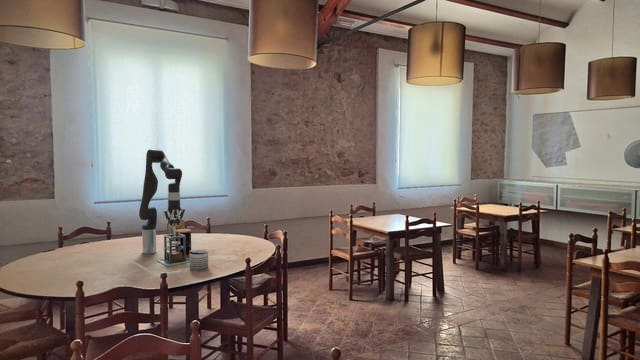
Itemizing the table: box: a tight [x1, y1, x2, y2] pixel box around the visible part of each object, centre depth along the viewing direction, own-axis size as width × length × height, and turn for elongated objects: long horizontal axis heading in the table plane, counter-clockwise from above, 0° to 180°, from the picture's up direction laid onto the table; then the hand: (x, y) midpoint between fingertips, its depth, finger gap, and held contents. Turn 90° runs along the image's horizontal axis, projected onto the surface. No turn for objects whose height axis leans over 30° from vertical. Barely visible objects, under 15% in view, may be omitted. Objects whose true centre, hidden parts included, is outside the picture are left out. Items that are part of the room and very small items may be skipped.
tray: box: [156, 256, 190, 267], centre depth 285 cm, size 16×18×2 cm
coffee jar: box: [174, 228, 192, 257], centre depth 304 cm, size 11×11×18 cm
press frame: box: [163, 233, 187, 264], centre depth 284 cm, size 11×11×17 cm
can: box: [189, 249, 209, 273], centre depth 270 cm, size 11×11×12 cm
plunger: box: [172, 218, 180, 246], centre depth 283 cm, size 7×7×16 cm
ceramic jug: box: [167, 214, 188, 242], centre depth 355 cm, size 17×15×30 cm
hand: (174, 225), depth 283 cm, fingers closed on plunger, 3 cm apart
